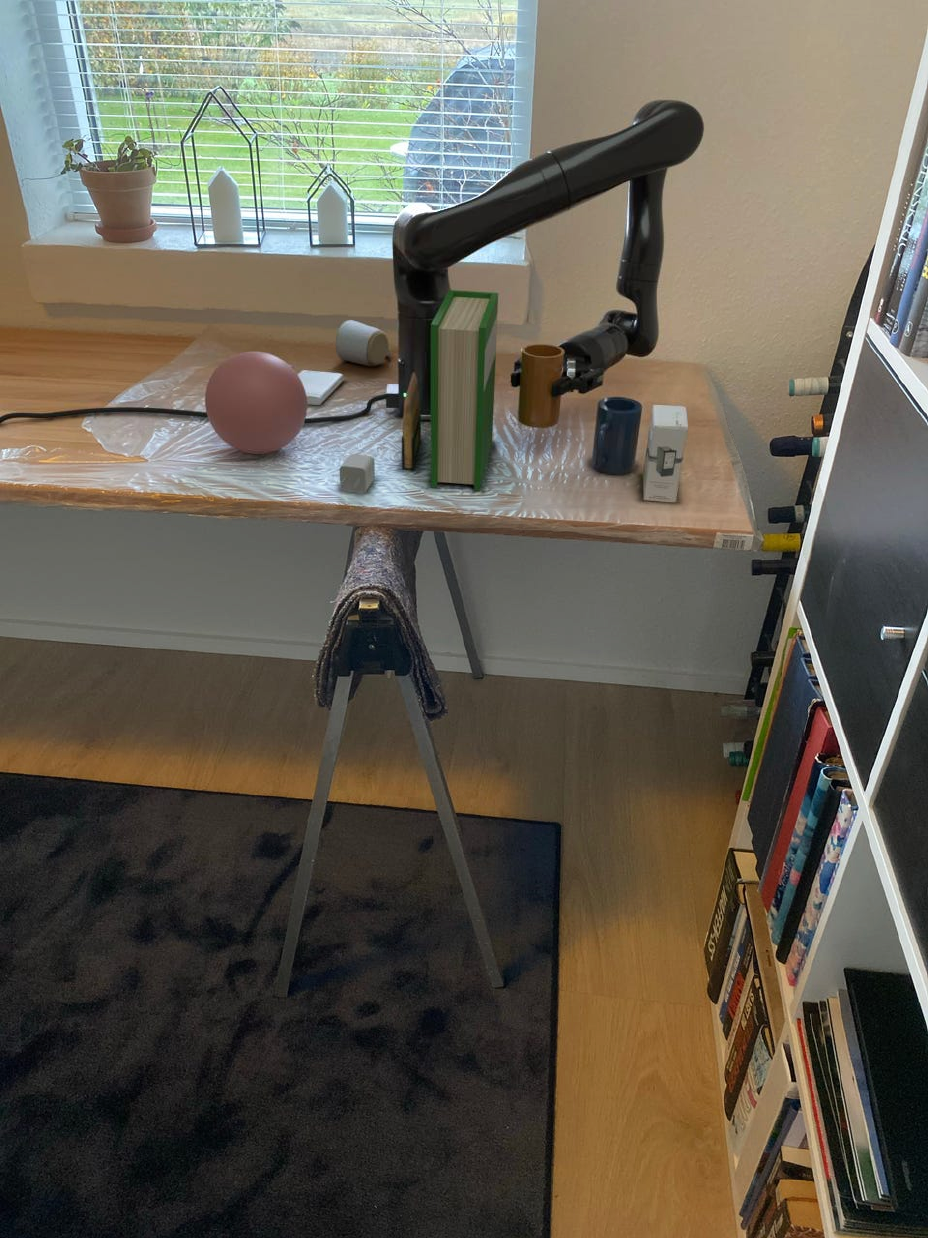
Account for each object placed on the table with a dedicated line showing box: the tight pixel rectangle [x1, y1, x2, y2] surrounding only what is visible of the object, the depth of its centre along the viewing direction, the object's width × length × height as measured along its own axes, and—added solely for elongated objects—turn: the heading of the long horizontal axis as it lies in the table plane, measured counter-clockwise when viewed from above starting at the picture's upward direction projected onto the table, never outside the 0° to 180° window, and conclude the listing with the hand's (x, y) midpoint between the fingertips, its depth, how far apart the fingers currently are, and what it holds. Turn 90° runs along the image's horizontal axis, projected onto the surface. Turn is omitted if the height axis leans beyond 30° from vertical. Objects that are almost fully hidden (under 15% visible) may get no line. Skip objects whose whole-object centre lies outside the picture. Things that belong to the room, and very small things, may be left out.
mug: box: [591, 396, 643, 476], centre depth 142 cm, size 10×7×10 cm
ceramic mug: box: [335, 319, 391, 367], centre depth 183 cm, size 11×8×8 cm
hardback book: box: [430, 289, 499, 492], centre depth 139 cm, size 18×7×24 cm, turn 173°
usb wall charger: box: [338, 453, 376, 494], centre depth 137 cm, size 4×7×4 cm, turn 168°
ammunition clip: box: [401, 372, 422, 471], centre depth 144 cm, size 11×2×12 cm, turn 177°
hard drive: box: [297, 369, 344, 406], centre depth 170 cm, size 2×8×12 cm
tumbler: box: [517, 343, 565, 429], centre depth 143 cm, size 6×6×11 cm
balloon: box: [204, 351, 308, 455], centre depth 146 cm, size 15×20×15 cm
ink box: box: [642, 404, 689, 504], centre depth 136 cm, size 9×5×12 cm, turn 172°
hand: (533, 385), depth 141 cm, fingers closed on tumbler, 6 cm apart
